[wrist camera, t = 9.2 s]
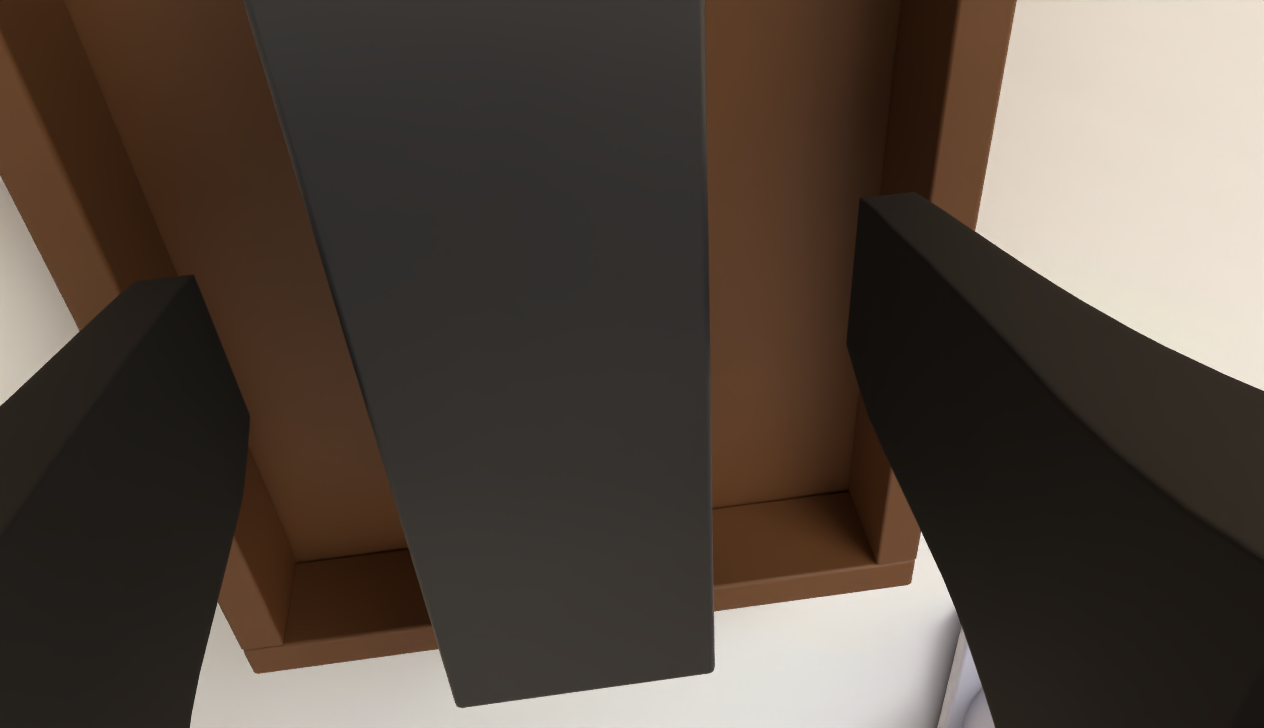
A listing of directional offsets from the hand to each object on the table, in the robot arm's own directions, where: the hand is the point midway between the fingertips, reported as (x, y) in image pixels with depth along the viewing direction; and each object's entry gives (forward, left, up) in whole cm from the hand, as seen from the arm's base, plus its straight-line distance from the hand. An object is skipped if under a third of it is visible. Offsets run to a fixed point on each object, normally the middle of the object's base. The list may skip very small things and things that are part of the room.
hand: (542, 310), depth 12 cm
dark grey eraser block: (0, 0, -3) cm, 3 cm away
